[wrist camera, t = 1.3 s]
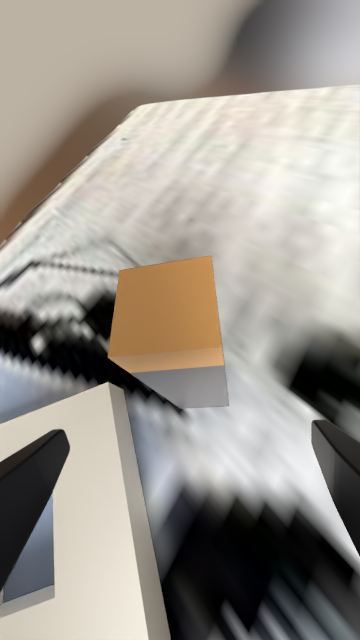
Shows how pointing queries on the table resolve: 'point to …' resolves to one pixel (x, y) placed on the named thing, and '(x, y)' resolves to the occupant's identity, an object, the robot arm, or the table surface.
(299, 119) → the table surface
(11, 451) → the socket block
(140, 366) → the plug
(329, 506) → the table surface
